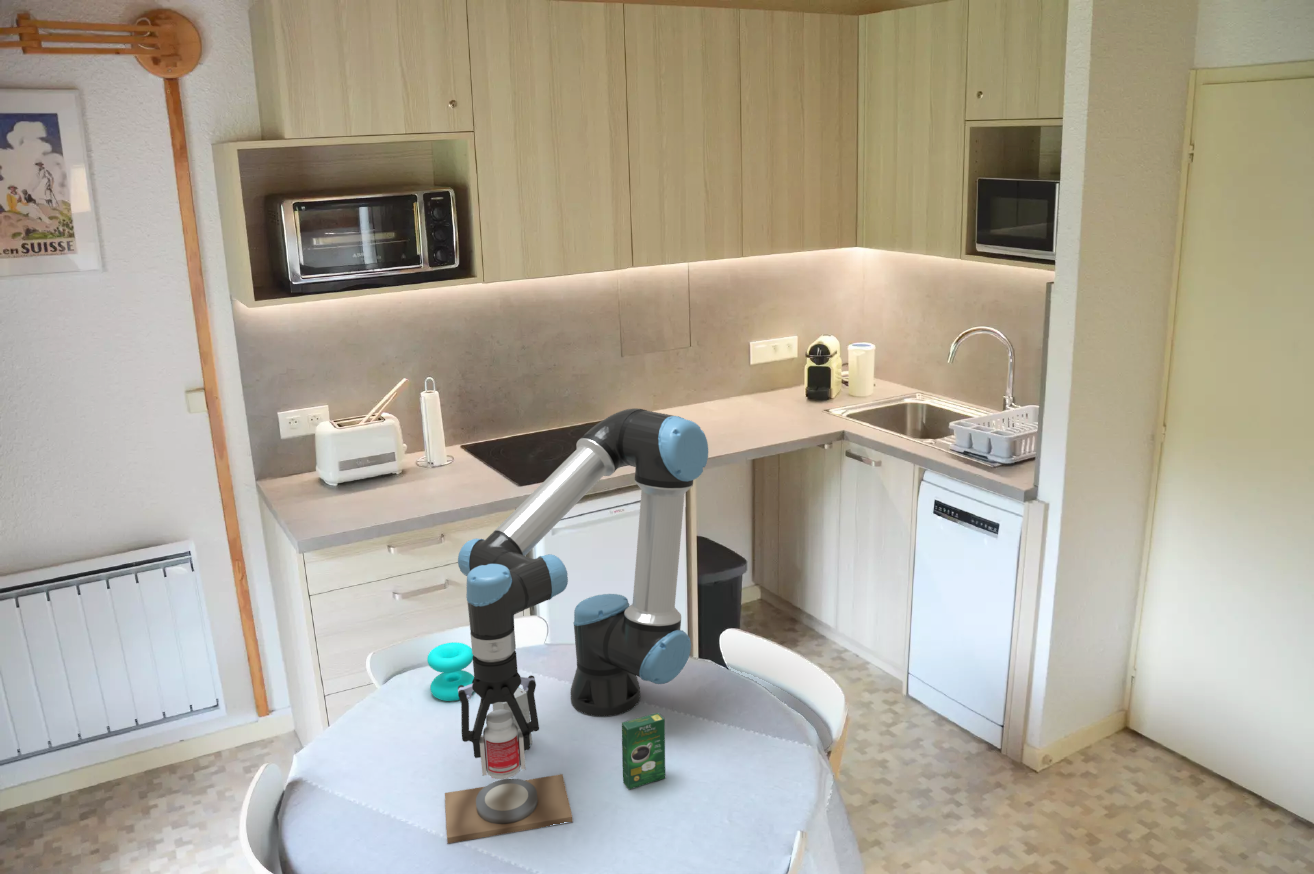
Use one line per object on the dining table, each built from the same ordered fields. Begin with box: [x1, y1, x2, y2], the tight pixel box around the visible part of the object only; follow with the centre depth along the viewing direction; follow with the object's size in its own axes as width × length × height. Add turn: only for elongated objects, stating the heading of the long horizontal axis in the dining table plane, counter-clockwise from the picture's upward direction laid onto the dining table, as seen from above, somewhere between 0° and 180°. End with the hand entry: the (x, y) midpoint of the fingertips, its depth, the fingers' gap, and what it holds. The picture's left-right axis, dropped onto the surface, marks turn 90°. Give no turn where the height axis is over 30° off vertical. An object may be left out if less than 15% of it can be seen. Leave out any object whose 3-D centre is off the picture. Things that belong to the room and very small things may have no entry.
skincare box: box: [492, 686, 533, 746], centre depth 206 cm, size 6×4×12 cm
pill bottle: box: [482, 709, 521, 780], centre depth 184 cm, size 6×6×11 cm
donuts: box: [426, 641, 474, 702], centre depth 227 cm, size 10×10×10 cm
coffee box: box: [621, 712, 666, 790], centre depth 194 cm, size 8×3×13 cm, turn 116°
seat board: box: [444, 773, 574, 844], centre depth 188 cm, size 22×13×3 cm, turn 103°
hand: (503, 767), depth 186 cm, fingers closed on pill bottle, 6 cm apart
